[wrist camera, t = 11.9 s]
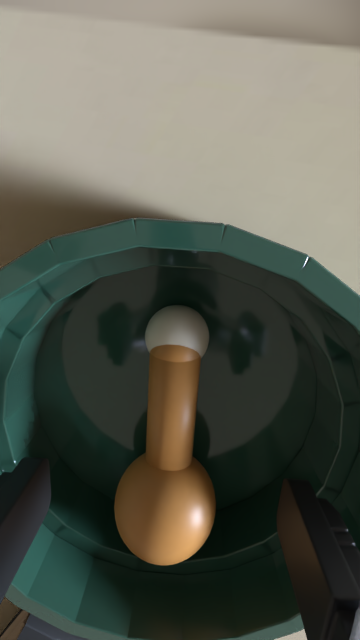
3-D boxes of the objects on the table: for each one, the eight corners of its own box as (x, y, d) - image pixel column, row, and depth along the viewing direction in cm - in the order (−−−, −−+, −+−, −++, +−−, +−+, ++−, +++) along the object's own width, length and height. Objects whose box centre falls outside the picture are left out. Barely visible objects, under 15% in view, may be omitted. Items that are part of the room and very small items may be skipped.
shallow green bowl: (-7, 212, 15) (-138, 199, 9) (381, 237, 14) (511, 241, 8) (21, 514, 19) (-52, 634, 14) (312, 539, 19) (365, 673, 13)
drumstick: (130, 295, 15) (98, 323, 10) (232, 303, 15) (245, 335, 10) (126, 496, 18) (100, 586, 14) (210, 505, 18) (212, 600, 13)
